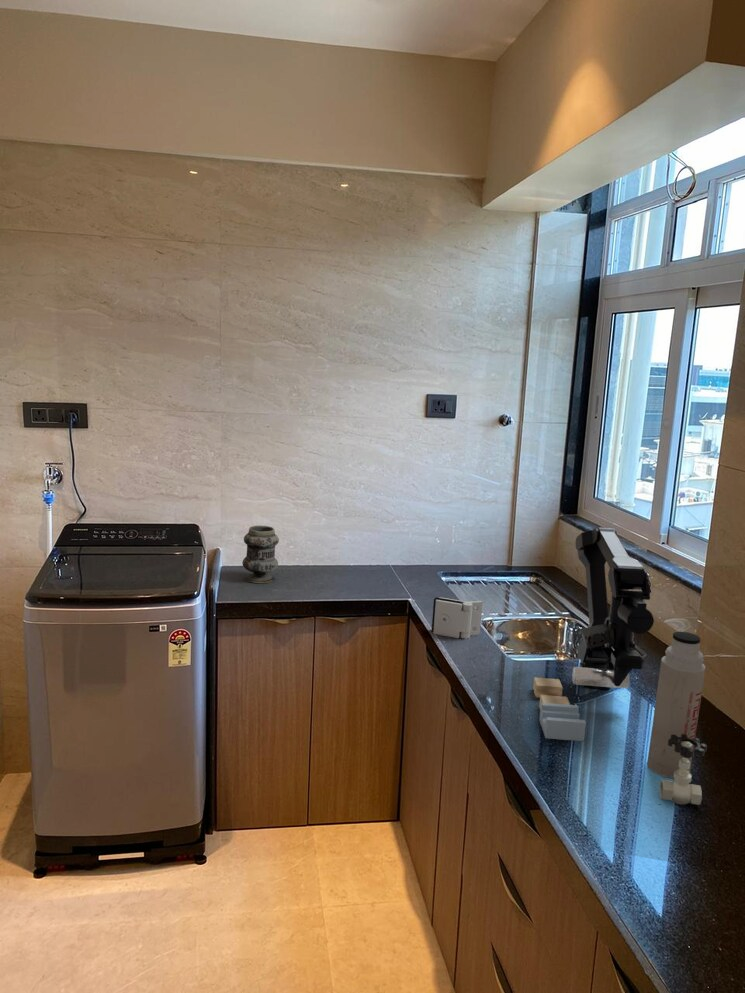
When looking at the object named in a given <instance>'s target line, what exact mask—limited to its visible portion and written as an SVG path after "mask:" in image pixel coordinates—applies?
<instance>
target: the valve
mask: <svg viewBox="0 0 745 993" xmlns="http://www.w3.org/2000/svg"><path fill="white" fill-rule="evenodd" d="M682 741H684V742H683V743H682V745H681V742H682ZM700 742H701V740H700V738H698V737H695V738H693V739H690V738H688V736H687V735H686V734H681V737H677V735H674V734H672V735H671V739H669V740H668V745H669V746H671V747H672V744H674V745H675V749H674V751H675V752H677V753H680V755H681V756H682V758H681V759H680V760H679V766H678V767H680V768H679V769H678V770H675V771H674V778H673V779H674V780H667V779H660V780H659V791H658V792H659V797H660V799H661V800H667V801H672V802H673V803H675V804H678V805H687V804H692V805H699V806H700V805H701V803H702V798H703V794H702V786H701V785H700V784H693V783H691V782H692V774H691V772H690V773H689V771H688V769H689V768H690V761H689V760H688V758H691V757H692V758H693V757H694V756H696V755H698V756H699V757H704V756H705V752H707V749H708V745H707V744H706V743H700ZM691 743H692V744H694V748H692V746H693V745H692V744H691ZM690 769H691V768H690Z"/></svg>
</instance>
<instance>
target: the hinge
mask: <svg viewBox="0 0 745 993" xmlns="http://www.w3.org/2000/svg"><path fill="white" fill-rule="evenodd" d="M483 604H484V603H483V601H482V600H476V601H474V600H472V601H464V600H460V599H454V598H448V597H447V598H446V597H440V596H439V597H434V598H433V607H432V608H433V609H432V617H431V618H432V622H431V633H433V634H434V635H439V636H445V637H451V638H456V639H460V638H462V639H463V638H465V639H464V640H467V638H469V639H470V637H471V636H479V635H478V634H480V633H481V625H482V624H481V623H482V611H483ZM473 628H474V629H473ZM480 635H481V634H480Z"/></svg>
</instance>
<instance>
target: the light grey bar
mask: <svg viewBox="0 0 745 993" xmlns="http://www.w3.org/2000/svg"><path fill="white" fill-rule="evenodd" d="M630 681H631V680H630V673H629V674H628V675H627V676H626V678H625V679H624V680H623V682H622V683H621V685H620V686H615V685H614V670H611V669H598V668H584V667H579V666H573V668H572V683H573V685H577V686H583V685H588V686H601V687H610V688H617V689H628V688H629V687H630Z"/></svg>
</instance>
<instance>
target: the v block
mask: <svg viewBox="0 0 745 993" xmlns="http://www.w3.org/2000/svg"><path fill="white" fill-rule="evenodd" d="M579 710H580V707H579V704H578V705H574V704H570V705H566V704H553V703H541V710H540V709H539V723H540V727H541V729H542V732H543V734H544V738H545V739H549V740H550V739H553V740H564V741H577V742H585V740H584V739H585V733H586V724H587V723H586V720H585V719H580V716H581V714H580V713H579V712H580V711H579Z"/></svg>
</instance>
